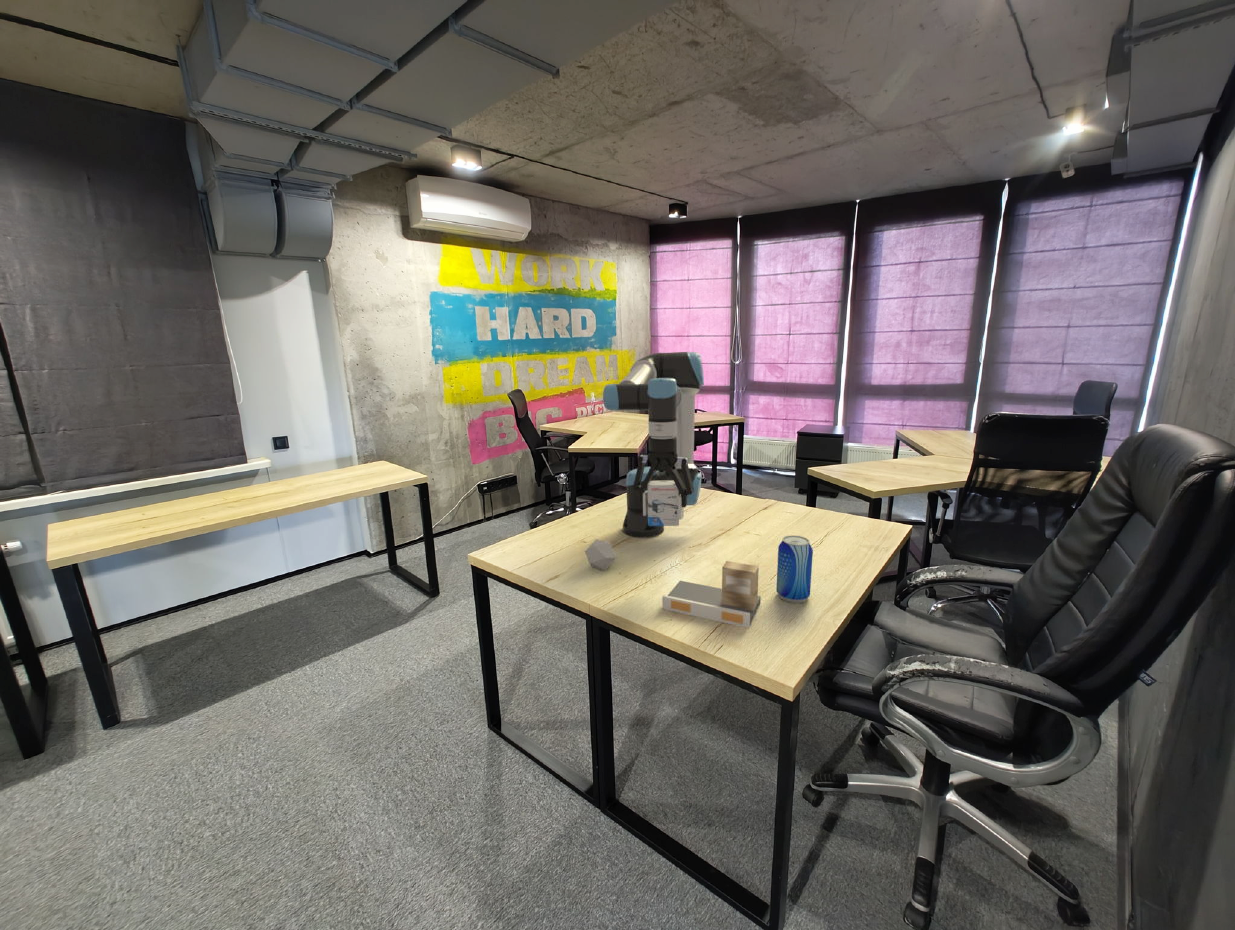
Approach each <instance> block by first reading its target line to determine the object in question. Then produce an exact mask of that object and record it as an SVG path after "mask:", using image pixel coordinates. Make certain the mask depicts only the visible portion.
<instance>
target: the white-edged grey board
mask: <svg viewBox="0 0 1235 930" xmlns="http://www.w3.org/2000/svg"><path fill="white" fill-rule="evenodd" d="M661 597H662V598H661V599H662V600H661V601H662V603H661V604H662V609H663V610H667V611H669V612H670V611H671V612H674V613H675V612H676V613H680V614H685V615H689V616H693V617H697V618H703V619H707V620H711V621H716V622H720V623H724V624H728V625H733V626H738V627H742V628H746V629H750V627H751V624H752V623H753V620H754V618H755V616H756V614H757V611H758V609H759V607H760V606H761V599H762V597H761V595H758V598H757V605H756V607H755V609H754V611H753V610H748V609H744V608H739V607H734V606H729V605H724V604H722V587H721V588H720V587H716V586H709V585H705V584H699V583H694V582H689V581H684V580H679V581H678V583H676V585H675V586H674V587H673V588H672V590H671V591H670V592H669V593H668V594H667V595H666V594H663V595H662V596H661Z"/></svg>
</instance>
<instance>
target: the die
mask: <svg viewBox="0 0 1235 930" xmlns="http://www.w3.org/2000/svg"><path fill="white" fill-rule="evenodd" d="M584 554H585V555H586V558H587V561H588V562H589V565H590V567H591V566H593V567H592V568H595V567H596V568H595V569H598V568H599V570H601V569H602V571H606V570H607V568H608V567H610V565H611V564H612V563H613V562H614V561H615V560H616V559H617V557H616V556H617V555H616V553H615V552H614V549H613V547H612V544H611V542H608V541H605V540H600V539H597V538H596V539H595V540H594V541H593V542H592V543H591V544H590V545H589V546H588V547H587V548H586V549H585V551H584Z"/></svg>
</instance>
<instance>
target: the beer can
mask: <svg viewBox="0 0 1235 930" xmlns="http://www.w3.org/2000/svg"><path fill="white" fill-rule="evenodd" d="M810 541H811V540H809V539H808V538H807V537H804V536H801V535H794V534H793V535H786V536H783V537H782V540H781V541H780V543H779V544H778V546H777V547H778V548H777V549H778V552H777V567H776V568H777V571H776V588H775V589H776V591H775V592H776V593H777V595H778V596H779V598H780V599H781V600H782V601H785V602H788V603H792V604H801V603H804V602H806V601H807V600H808V598H810V597H811V596H810V595H811V585H812V571H813V570H812V569H813V568H812V567H813V552H814V549H813V547H812V546H811V544H810Z"/></svg>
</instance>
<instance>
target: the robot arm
mask: <svg viewBox="0 0 1235 930" xmlns="http://www.w3.org/2000/svg"><path fill="white" fill-rule="evenodd" d="M704 384H705V380H704V368H703V362H702V356H701V354H700V353H699V352H695V351H693V352H692V351H677V352H676V351H675V352H656V353H652V354H649V355H646V356H642V357H641V358H640V359H638V360H636V361H634V363H633V364H632V366H631V367H630V369H629V372H628V373H627V375H626V376H625V377H624V378H623V379H622V380H621V381H620V382H619V383H611V384H606V385H605V386H604V387H603V391H602V402H603V403H602V404H603V406H604V408H605V409H606V410H608V411H617V412H618V411H648V435H649V436H650V437H649V438H648V454H647V455H646V454H643V453H642V454H641V455H639V456H637V463H638V464H637V468H635V469H632V470H630V471H629V472H627V475H626V481H625V485H626V487H625V488H626V513H625V516H624V520H623V523H622V532H623V533H624V534H625V535H627V536H630V537H635V538H651V537H655V536H656V537H657V536H659V535H661V534H662V533H664V531H665V526H649V525H648V501H647V484H648V483H649V481H673V480H674V482H675V484H676V486H677V488H678V490H679V496H678V519H679V521H681V520H682V519H683V518H684V515H685V512H684V511H685V510H684V509H685V508H686V507H687V506H695V505H696V504H697V503H698V500H699V498H700V497H699V496H700V492H701V484H702V477H703V476H702V473H700V472H698V470H699V469H698V466H697V465H696V464H695V463H694V456H695V455H694V454H695V452H694V450H695V412H696V411H695V408H696V407H695V405H696V395H697V394H698V393H699V392H700V391H701V390H700V389H701V388H700V387H701V386H702V387H703V386H704ZM647 461H648V462H649V464H650V465H651V466H646V463H647Z"/></svg>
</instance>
